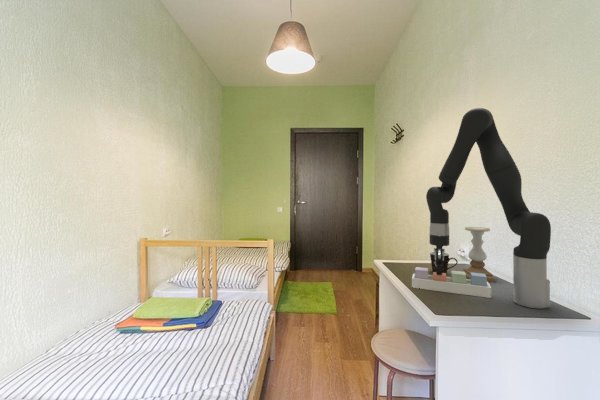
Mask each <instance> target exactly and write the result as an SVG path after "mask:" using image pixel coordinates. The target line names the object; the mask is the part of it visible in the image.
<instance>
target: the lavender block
mask: <svg viewBox="0 0 600 400" xmlns="http://www.w3.org/2000/svg"><path fill="white" fill-rule="evenodd" d="M414 274H415V278H418V279H426V280H428V275H429V268H428V267H419V266H416V267H415V269H414Z"/></svg>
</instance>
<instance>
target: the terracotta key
mask: <svg viewBox="0 0 600 400" xmlns="http://www.w3.org/2000/svg"><path fill="white" fill-rule="evenodd" d="M432 276H433V280H435V281H443V282H446V277H447V275H446V273H442V275H438V274H436V272H432Z"/></svg>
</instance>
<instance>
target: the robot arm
mask: <svg viewBox="0 0 600 400" xmlns="http://www.w3.org/2000/svg"><path fill="white" fill-rule="evenodd" d="M475 144H476V145H477V147H478V150H479V154H480V157H481V162H482V166H483V169H484V172H485V174H486V176H487V178H488V180H489V182H490V184H491V186H492V189H493V190H494V192H495V194H496V196H497V199H498V200H499V202H500V204H501V207H502V209H503V212H504V215H505V219H506V221H507V224H508V226H509V229H510V230H511V232H513V233H514V234H515V235H517V236H519V237H520V240H519V244H518V245H516V246H515V247H514V248H513V251H512V253H513V258H512V259H513V264H512V265H513V273H512V274H513V277H512V278H513V279H512V280H513V283H512V284H513V287H512V289H513V290H512V291H513V294H512V296H513V302H514V303H515V304H517V305H519V306H522V307H526V308H531V309H538V310H540V309H541V310H542V309H546V308H550V307H551V293H550V292H551V280H550V279H548V278H547V275H548V273H547V272H548V271H547V269H548V267H547V266H548V265H547V263H548V261H547V258H548V253H549V251H550V248H551V239H552V237H551V236H552V225H551V222H550V219H549V218H548V217H547V216H546V215H544V214H542V213H540V212H533V211H532V212H531V211H530V210H529V208H528V207H527V205H526V203H525V200H524V199H523V195H522V186H523V185H522V183H523V182H522V175H521V172H520V170H519V168H518V166H517V164H516V162H515V160H514V159H513V156H512V154H511V153H510V151H509V149H508V148H507V147H506V145H505V144H504V142H503V141H502V139H501V136H500V134H499V131H498V129H497V126H496V123H495V120H494V116H493V113H492V112H491V111H490V110H489V109H486V108H483V107H477V108H472V109H470V110H468V111H466V113H465V114H464V115H463V116H462V119H461V122H460V126H459V130H458V133H457V136H456V139H455V142H454V144H453V146H452V148H451V150H450V152H449V155H448V156H447V159H446V160H445V162H444V165H443V166H442V168H441V171H440V172H439V175H438V180H439V181H440V182H441V185H440V186H431V187H430V188H429V189H427V192H426V199H425V200H426V203H427V207H428V211H429V213H430V214H429V215H430V217H429V220H430V223H429V244H430V245H431V246H435V247H434V249H433V252H434V254H435V260H436V274H438V275H442V266H443V261H444V254H445V253H446V251H445V248H443V247H448V246H449V245H450V222H449V221H450V218H449V217H450V216H449V215H450V214H449V211H448V210H447V209H445V208H444V207H443V204H447V203H449V202H450V201H451V200H452V199H453V197H454V195H455V191H456V187H457V182H458V180H459V178H460V176H461V174H462V173H463V172H464V171H463V170H464V168H465V167H466V164H467V161H468V158H469V156H470V153H471V151H472V149H473V147H474V146H475Z"/></svg>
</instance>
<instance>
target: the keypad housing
mask: <svg viewBox="0 0 600 400" xmlns="http://www.w3.org/2000/svg"><path fill="white" fill-rule="evenodd" d="M411 276H412V277H411V288H412V287H413V288H414V289H419V288H420V289H421V290H426V291H427V290H428V291H435V292H442V293H443V292H444V293H450V294H457V295H467V296H472V297H473V296H474V297H479V298H488V299H491V298H492V287H491V284H490V282H487V287H486V286H478V285H471V280H468V279H466V284H461V283H452V282H451V277H450V276H446V282H443V281H435V280H433V275H431V274H428V280H426V279H418V278H415V273H412V275H411ZM413 288H412V289H413Z"/></svg>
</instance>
